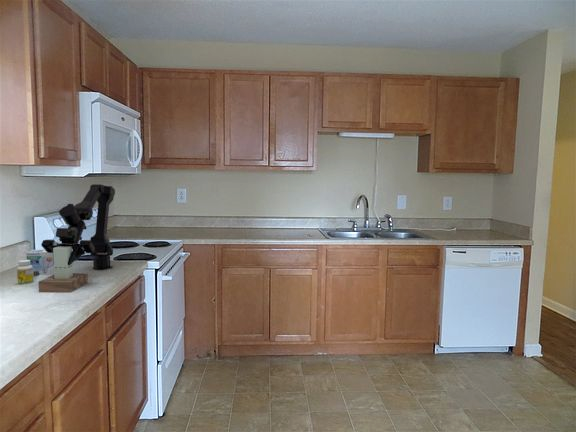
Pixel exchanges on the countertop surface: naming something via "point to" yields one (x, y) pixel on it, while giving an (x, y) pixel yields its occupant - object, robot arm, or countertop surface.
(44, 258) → the light bulb box
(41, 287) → the brown stepped stand
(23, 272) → the supplement bottle
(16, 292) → the countertop surface
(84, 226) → the robot arm
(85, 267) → the countertop surface
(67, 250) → the stub
